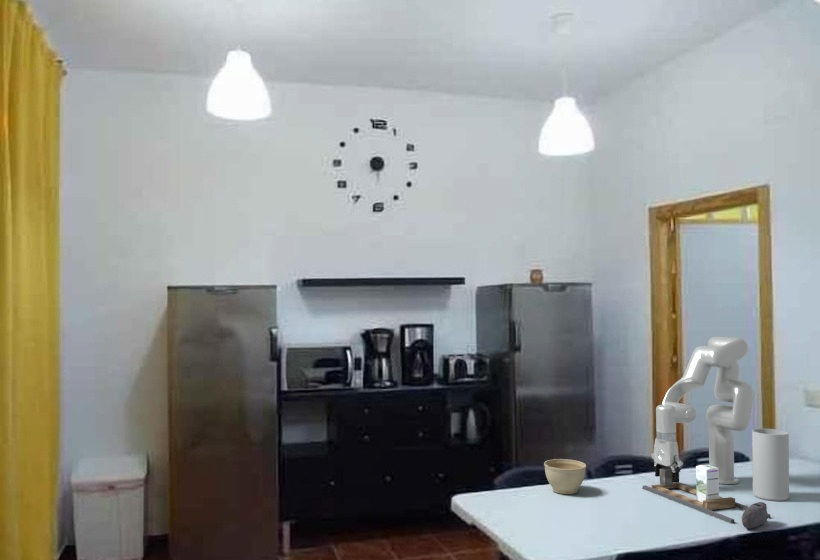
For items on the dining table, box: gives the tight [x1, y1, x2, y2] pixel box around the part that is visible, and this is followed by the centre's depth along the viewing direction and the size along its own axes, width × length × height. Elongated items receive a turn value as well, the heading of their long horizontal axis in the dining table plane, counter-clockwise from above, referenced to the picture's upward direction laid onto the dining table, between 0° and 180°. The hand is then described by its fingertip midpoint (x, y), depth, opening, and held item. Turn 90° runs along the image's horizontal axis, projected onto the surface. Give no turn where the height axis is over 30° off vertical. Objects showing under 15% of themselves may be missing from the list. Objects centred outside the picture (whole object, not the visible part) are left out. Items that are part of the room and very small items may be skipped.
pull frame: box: [650, 467, 736, 511], centre depth 272 cm, size 30×13×8 cm, turn 20°
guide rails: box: [642, 481, 771, 524], centre depth 267 cm, size 46×18×1 cm, turn 20°
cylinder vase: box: [751, 428, 790, 502], centre depth 274 cm, size 12×12×25 cm
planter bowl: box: [543, 458, 587, 495], centre depth 282 cm, size 16×16×11 cm
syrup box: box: [695, 464, 720, 502], centre depth 262 cm, size 6×6×14 cm
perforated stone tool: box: [741, 501, 769, 530], centre depth 239 cm, size 15×5×7 cm, turn 129°
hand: (667, 479), depth 285 cm, fingers open, 9 cm apart
